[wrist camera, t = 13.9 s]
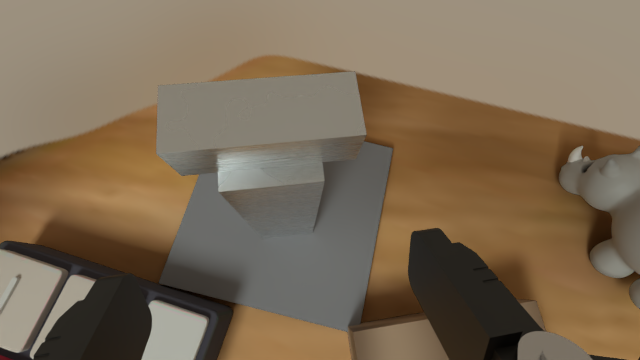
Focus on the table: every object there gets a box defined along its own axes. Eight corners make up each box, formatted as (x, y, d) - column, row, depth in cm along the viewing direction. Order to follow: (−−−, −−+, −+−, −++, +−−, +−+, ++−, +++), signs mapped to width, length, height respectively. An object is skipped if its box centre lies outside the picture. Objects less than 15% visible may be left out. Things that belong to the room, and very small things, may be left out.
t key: (246, 240, 23) (155, 177, 9) (243, 192, 24) (158, 65, 10) (328, 231, 24) (370, 157, 9) (322, 184, 25) (352, 52, 10)
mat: (162, 283, 23) (158, 283, 22) (226, 110, 27) (224, 107, 26) (356, 333, 22) (358, 334, 22) (391, 151, 26) (393, 148, 26)
